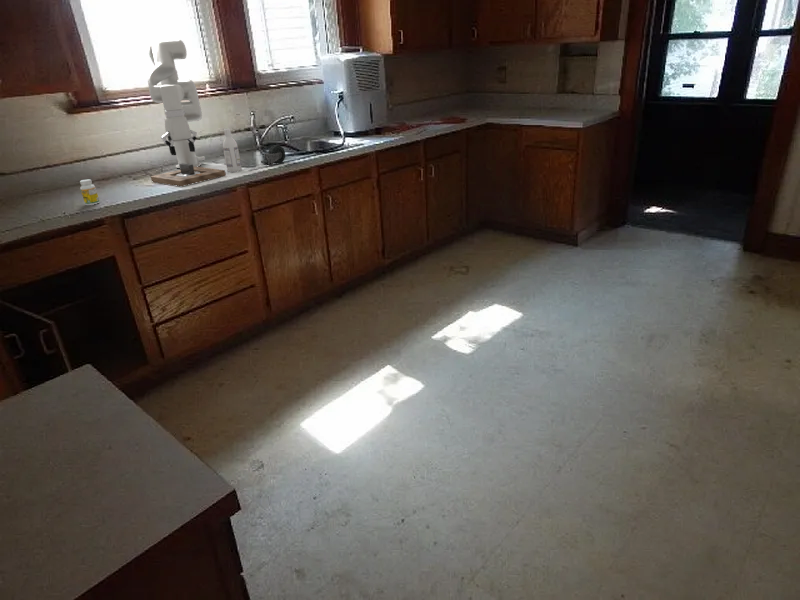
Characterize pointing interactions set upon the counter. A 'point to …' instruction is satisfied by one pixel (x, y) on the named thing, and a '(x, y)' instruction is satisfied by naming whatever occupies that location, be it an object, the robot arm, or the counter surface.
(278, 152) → the caster wheel
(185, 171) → the dial
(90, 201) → the supplement bottle
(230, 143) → the bath foam
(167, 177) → the brown wooden square frame
